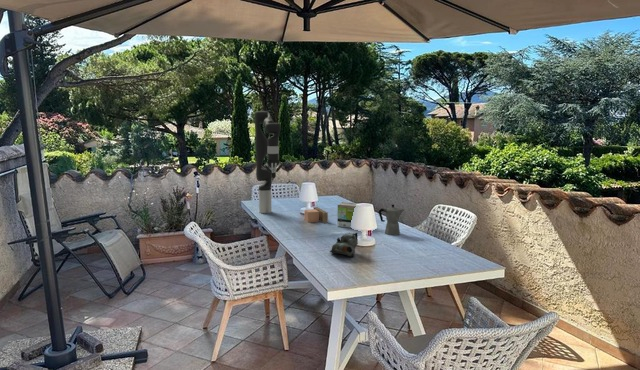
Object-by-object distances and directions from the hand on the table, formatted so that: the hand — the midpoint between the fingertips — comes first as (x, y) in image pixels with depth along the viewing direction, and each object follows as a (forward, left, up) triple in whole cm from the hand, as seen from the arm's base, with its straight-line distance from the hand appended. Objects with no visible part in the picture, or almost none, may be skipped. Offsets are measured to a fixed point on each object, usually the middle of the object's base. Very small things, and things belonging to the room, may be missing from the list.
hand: (273, 178), depth 292 cm
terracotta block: (+9, +24, -30) cm, 39 cm away
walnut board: (+9, +31, -30) cm, 44 cm away
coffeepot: (+59, +58, -30) cm, 88 cm away
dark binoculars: (+87, +14, -30) cm, 93 cm away
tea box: (+33, +43, -30) cm, 62 cm away
